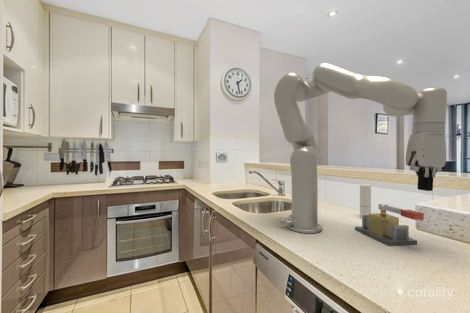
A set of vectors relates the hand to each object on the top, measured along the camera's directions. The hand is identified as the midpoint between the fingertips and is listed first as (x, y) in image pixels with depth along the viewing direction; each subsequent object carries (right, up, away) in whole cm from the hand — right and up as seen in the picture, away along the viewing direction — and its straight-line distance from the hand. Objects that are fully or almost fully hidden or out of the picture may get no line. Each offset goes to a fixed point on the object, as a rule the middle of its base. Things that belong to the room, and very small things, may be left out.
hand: (424, 190), depth 66 cm
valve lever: (-6, -8, +3) cm, 10 cm away
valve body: (-7, -17, +8) cm, 20 cm away
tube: (+1, -18, +32) cm, 36 cm away
